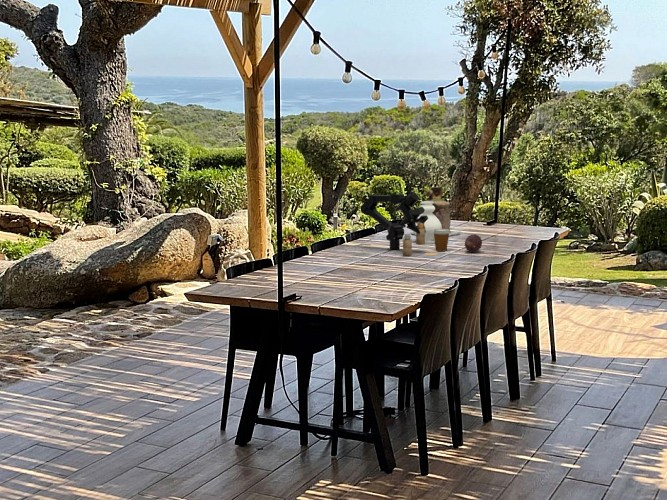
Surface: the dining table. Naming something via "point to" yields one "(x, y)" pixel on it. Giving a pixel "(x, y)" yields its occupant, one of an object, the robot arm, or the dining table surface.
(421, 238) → the orange ball tube
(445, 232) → the disposable coffee cup
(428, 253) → the card
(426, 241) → the decorative vase
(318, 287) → the dining table surface
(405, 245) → the grey ball tube
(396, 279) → the dining table surface
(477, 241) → the pine cone
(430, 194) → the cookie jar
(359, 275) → the dining table surface
